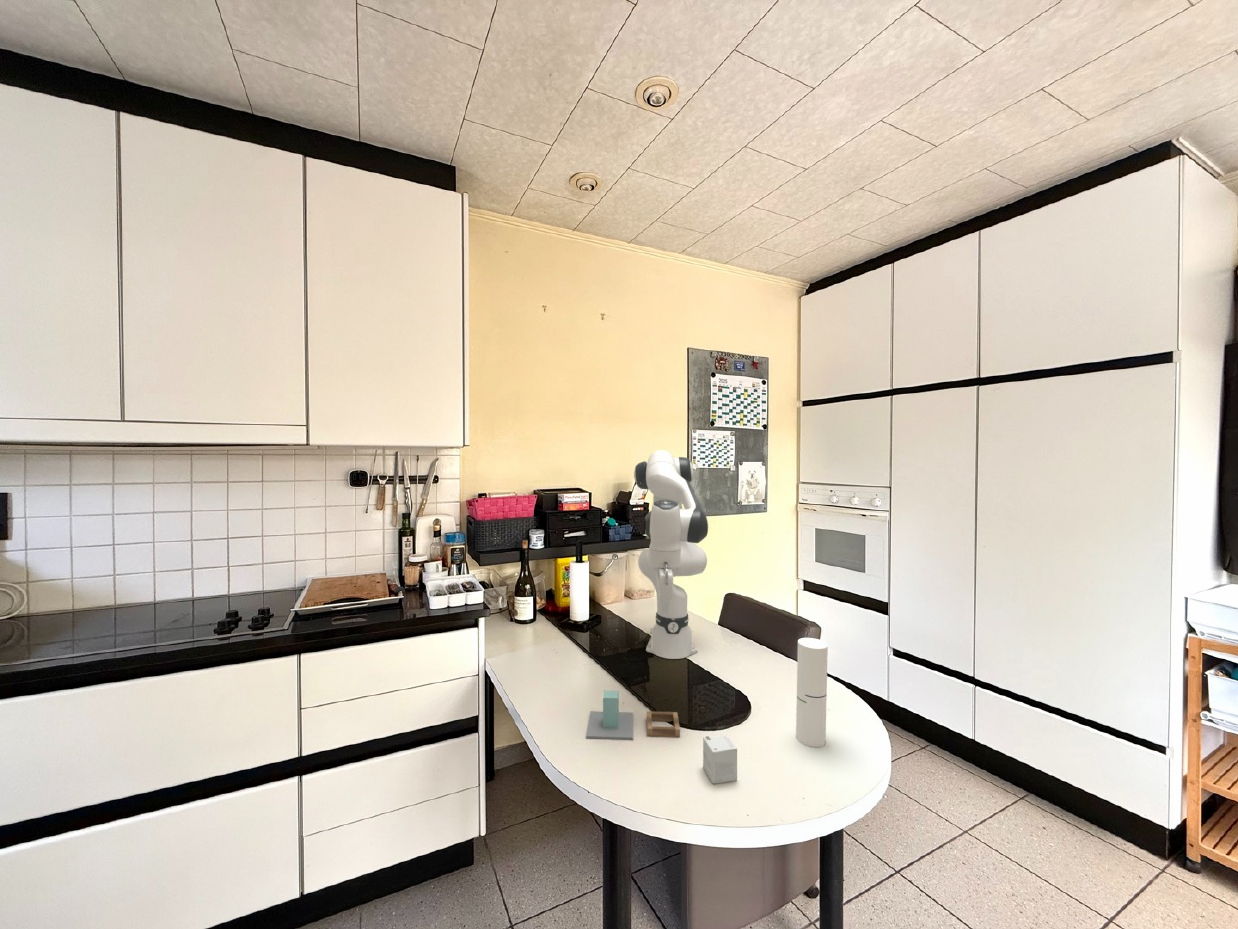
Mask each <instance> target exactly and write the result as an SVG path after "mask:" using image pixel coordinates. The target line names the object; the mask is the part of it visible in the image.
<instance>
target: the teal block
mask: <svg viewBox="0 0 1238 929" xmlns="http://www.w3.org/2000/svg"><path fill="white" fill-rule="evenodd" d="M619 691H620V690H603V697H602V712H603V728H618V720H619V712H620V710H619V708H620V707H619V702H620V699H619V698H620V696H619V695H620V692H619Z"/></svg>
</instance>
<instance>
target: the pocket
mask: <svg viewBox="0 0 1238 929" xmlns="http://www.w3.org/2000/svg"><path fill="white" fill-rule="evenodd" d="M678 715H679V714H678V712H677V711H646V730H647V732H646V733H647V737H656V738H657V737H658V738H659V737H662V738H663V737H664V738H680V737H681V728H680V722H679V716H678ZM671 721H673V722H672V724H673V726H659V725H658V726H656V725H653V722H671Z"/></svg>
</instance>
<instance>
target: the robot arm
mask: <svg viewBox="0 0 1238 929" xmlns="http://www.w3.org/2000/svg"><path fill="white" fill-rule="evenodd" d="M633 471H634V472H633V478H634V479H633V480H634V482H635V484H636V485H637V487H638V488H639V489H641V490H649V492H650V493H651V494H652V495H653V497H652V502H653V503H652V505H651V510H650V511H649V512H647V514H646V515H645V516H644V521H645V532H644V534H645V536H646V537H648V539H650V544H649V548H645V549H642V551H641V552H640V554H639V556H638V560H637V563H638V564H637V565H638V568H639V570H640V572H641V574H642V575H643V576H644V577H646V578H648V579H649V581H650V582H651V583H652V585H653V586H654V589H655V594H656V612H655V624H654V626H653V627H651V628H650V630H649V632H650V635H651V636H650V638H649V641H648V643H647V645H646V649H645V651H646V652H647V653H652V654H654V655H656V656H658V657H660V658H663V659H669V660H679V659H684V658H688V657H689V656H691V655H692V654H696V653H698V649H697V647H696V646H695V645H694V644H693V630H692V628H691V627H690V626H689V620H690V618H689V614H688V594H687V591H686V590H685V589H684V588H683V587H681V586H679V585H677V584H676V583H674V577H691V576H696V575H700V574H703V573H704V571H705V569H706V568H707V566H708V565H707V564H708V557H707V555H706V552H705V551H704V550H703V549H702V548H701V547H700V546H698V545H697V544H699V543H700V542H701V541H703V540H704V539H706V537H707V536H708V532H709V521H708V518H707V515H706V513H705V512H704V510H703V509H702V507H701V505H700V503H699V500H698V498H697V495H696V494H695V491H694V489H693V487H692V485H691V482H692V479H693V477H694V467H693V464H692V462H691V460H690V459H689V458H688V457H683V456H679V457H674V456H673V455H672V453H671V452H669V451H667V450H664V449H658V450H655V451H653V452H652V453H651V454H650V455H649V457H648V460H647V461H642V462H639V463H637V464H636V465H635V467H634V470H633Z"/></svg>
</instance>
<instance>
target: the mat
mask: <svg viewBox="0 0 1238 929" xmlns="http://www.w3.org/2000/svg"><path fill="white" fill-rule="evenodd" d="M588 717H589V718H588V724H587V729H586V735H585V739H589V740H591V739H593V740H595V739H596V740H621V741H623V740H625V741H633V740H634V712H629V711H627V712H626V711H625V712H624V711H623V712H622V711H619V720H618V728H603V711H596V710H595V711H593V710H592V711H590V712H589V716H588Z"/></svg>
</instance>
